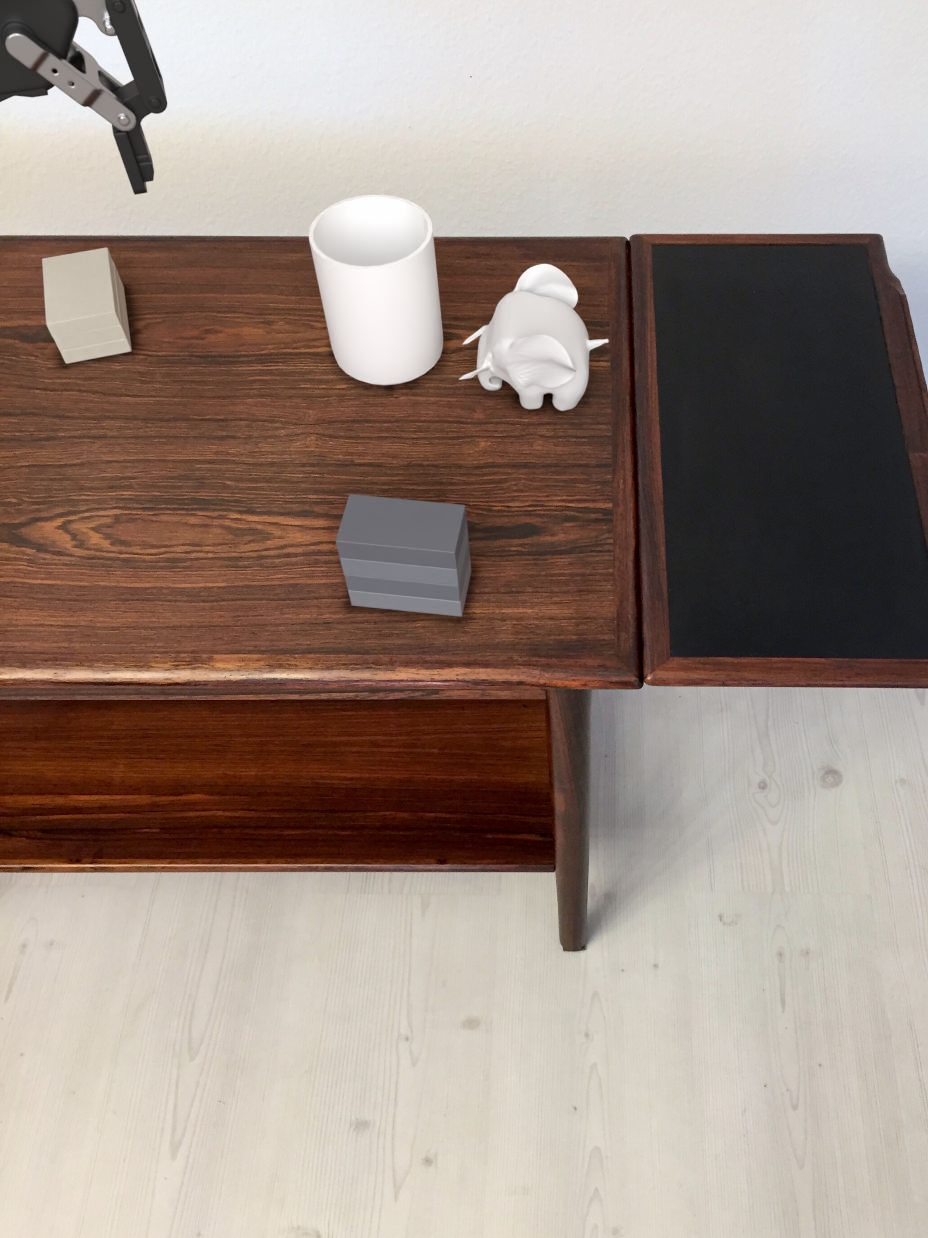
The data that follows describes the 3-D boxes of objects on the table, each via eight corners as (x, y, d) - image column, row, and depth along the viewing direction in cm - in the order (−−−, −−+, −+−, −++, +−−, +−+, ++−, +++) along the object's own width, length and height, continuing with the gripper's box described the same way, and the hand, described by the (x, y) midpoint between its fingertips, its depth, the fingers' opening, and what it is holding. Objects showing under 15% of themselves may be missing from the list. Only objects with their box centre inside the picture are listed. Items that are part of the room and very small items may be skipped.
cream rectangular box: (132, 351, 90) (121, 325, 88) (65, 364, 90) (53, 337, 87) (124, 287, 95) (113, 260, 93) (60, 298, 94) (48, 271, 92)
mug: (327, 389, 88) (301, 269, 78) (343, 297, 95) (320, 175, 85) (441, 389, 88) (429, 269, 78) (448, 297, 95) (437, 175, 85)
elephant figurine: (466, 346, 91) (459, 257, 84) (605, 349, 91) (610, 260, 83) (457, 425, 86) (449, 337, 78) (605, 429, 85) (611, 340, 78)
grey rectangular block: (351, 605, 76) (334, 540, 70) (364, 560, 78) (349, 493, 72) (462, 617, 75) (454, 552, 69) (471, 570, 77) (465, 504, 71)
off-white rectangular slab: (48, 272, 92) (41, 258, 91) (112, 260, 93) (107, 246, 92) (52, 338, 87) (45, 324, 86) (120, 325, 88) (115, 311, 87)
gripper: (83, -197, 48) (184, 142, 62) (-253, -161, 46) (-73, 183, 60) (94, -131, 44) (199, 216, 58) (-274, -89, 42) (-76, 263, 56)
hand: (61, 199), depth 59 cm, fingers open, 8 cm apart
